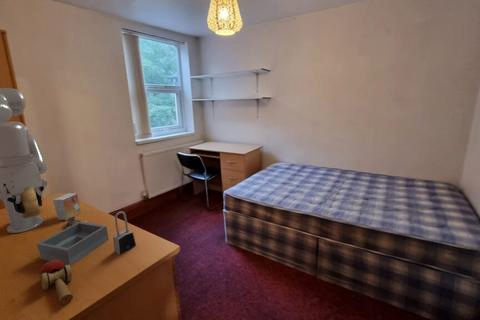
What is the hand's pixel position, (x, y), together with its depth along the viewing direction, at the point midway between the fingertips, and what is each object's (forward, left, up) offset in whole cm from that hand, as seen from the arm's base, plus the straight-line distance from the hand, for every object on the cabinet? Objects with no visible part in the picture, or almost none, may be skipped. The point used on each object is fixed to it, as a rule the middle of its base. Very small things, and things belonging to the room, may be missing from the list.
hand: (29, 208), depth 85 cm
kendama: (+26, -12, -17) cm, 34 cm away
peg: (0, 0, -3) cm, 3 cm away
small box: (-15, +23, -17) cm, 32 cm away
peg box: (+13, +4, -17) cm, 22 cm away
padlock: (+31, +9, -17) cm, 37 cm away
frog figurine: (-3, +16, -18) cm, 24 cm away
